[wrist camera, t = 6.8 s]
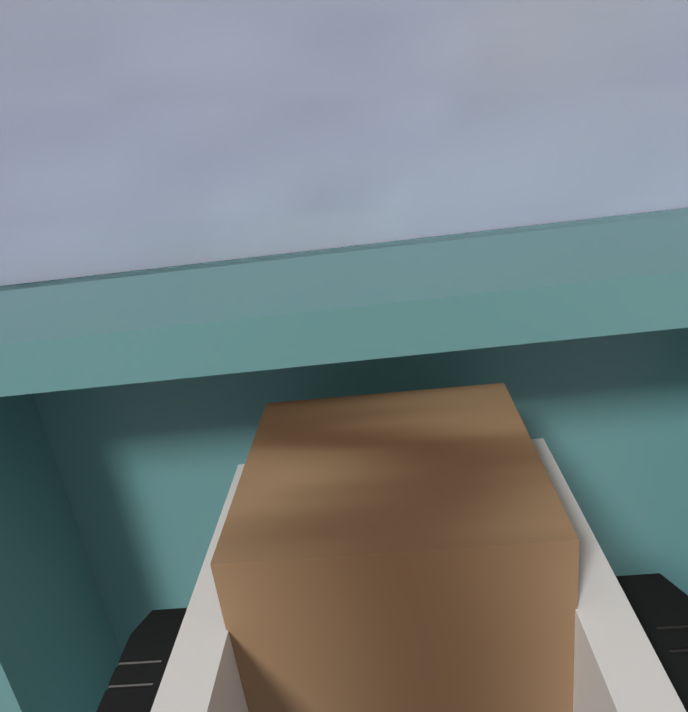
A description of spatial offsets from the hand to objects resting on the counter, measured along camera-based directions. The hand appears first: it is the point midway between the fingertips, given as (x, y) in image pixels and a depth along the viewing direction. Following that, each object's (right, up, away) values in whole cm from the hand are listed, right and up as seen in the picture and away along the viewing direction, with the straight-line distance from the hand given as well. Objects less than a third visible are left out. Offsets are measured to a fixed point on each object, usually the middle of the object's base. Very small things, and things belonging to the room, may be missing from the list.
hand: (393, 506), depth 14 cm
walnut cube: (0, 0, 0) cm, 0 cm away
